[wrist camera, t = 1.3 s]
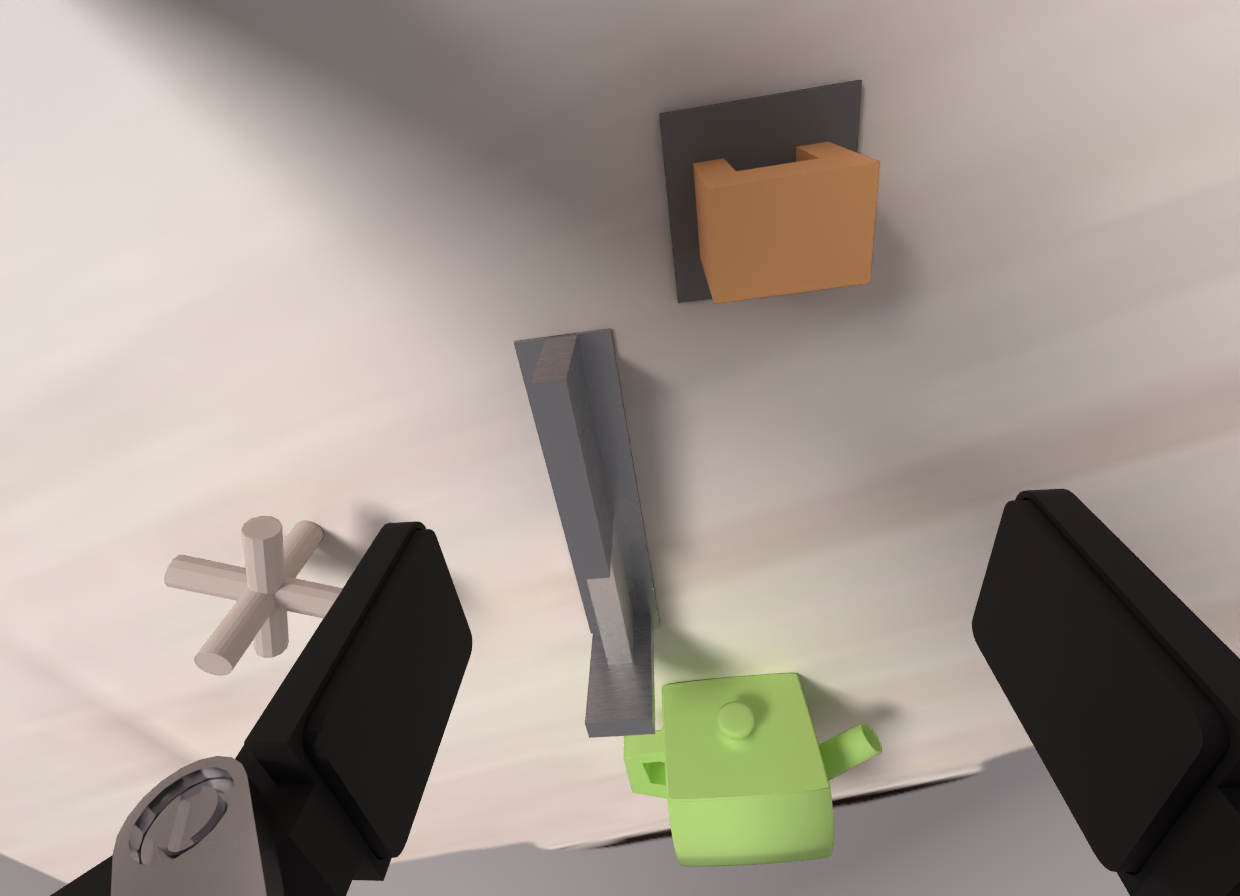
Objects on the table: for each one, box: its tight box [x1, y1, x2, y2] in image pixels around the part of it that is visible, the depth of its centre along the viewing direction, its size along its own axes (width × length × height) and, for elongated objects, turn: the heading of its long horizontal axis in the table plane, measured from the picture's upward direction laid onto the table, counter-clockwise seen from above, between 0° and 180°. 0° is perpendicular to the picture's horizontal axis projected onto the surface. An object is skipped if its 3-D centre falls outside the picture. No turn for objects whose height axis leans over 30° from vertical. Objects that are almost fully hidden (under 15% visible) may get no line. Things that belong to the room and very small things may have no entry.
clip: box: [693, 142, 880, 304], centre depth 23 cm, size 4×6×6 cm
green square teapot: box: [624, 673, 882, 866], centre depth 42 cm, size 18×10×10 cm, turn 100°
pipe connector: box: [165, 516, 343, 675], centre depth 33 cm, size 10×10×10 cm
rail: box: [514, 329, 660, 738], centre depth 32 cm, size 22×5×8 cm, turn 9°
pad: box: [660, 80, 862, 303], centre depth 26 cm, size 8×8×1 cm
